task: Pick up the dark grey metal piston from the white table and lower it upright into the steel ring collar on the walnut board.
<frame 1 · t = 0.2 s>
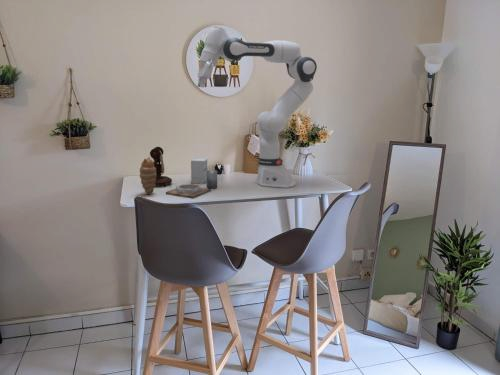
hand: (200, 87, 200), 51 cm above the table, tool tilted 20°, fingers open, 8 cm apart
ring board: (188, 192, 197), on the table
supplement box: (199, 182, 220), on the table
dark brown tall piece: (158, 184, 213), on the table
piston: (211, 187, 208), on the table
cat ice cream: (149, 194, 193), on the table
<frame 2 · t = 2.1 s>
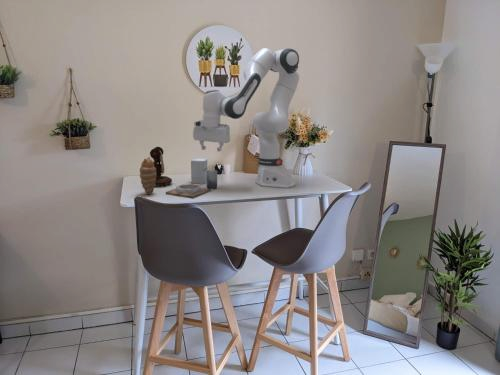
hand: (211, 150, 203), 20 cm above the table, tool pointing down, fingers open, 8 cm apart
nothing on the table moved.
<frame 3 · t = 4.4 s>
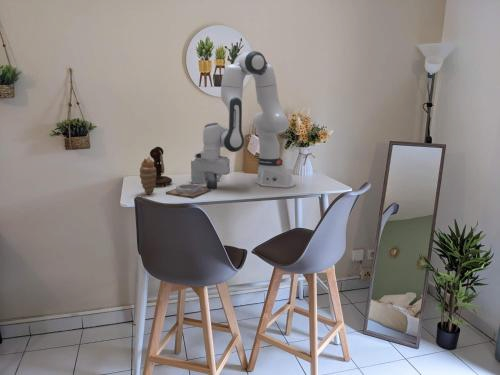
hand: (212, 181, 207), 4 cm above the table, tool pointing down, fingers closed on piston, 5 cm apart
piston: (211, 187, 208), on the table, touching gripper
everything else where it was.
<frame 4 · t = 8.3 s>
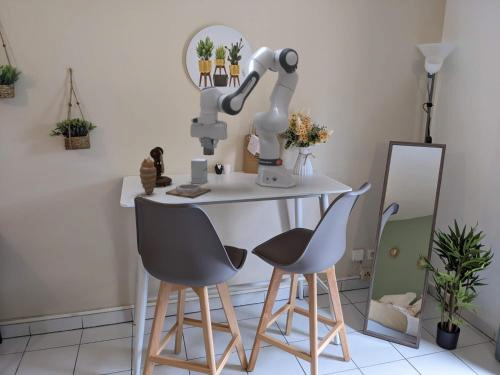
hand: (208, 147, 201), 22 cm above the table, tool pointing down, fingers closed on piston, 5 cm apart
piston: (208, 154, 202), point 18 cm above the table, touching gripper
everything else where it was.
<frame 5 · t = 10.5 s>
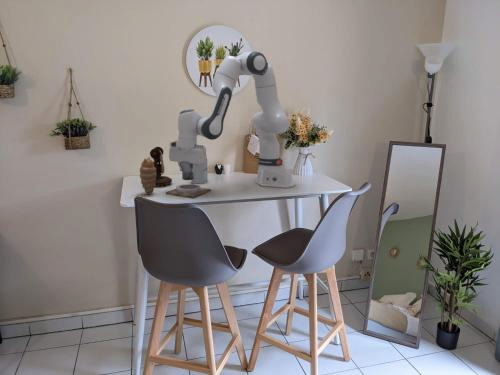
hand: (187, 171, 195), 11 cm above the table, tool pointing down, fingers closed on piston, 5 cm apart
piston: (188, 178, 196), point 7 cm above the table, touching gripper
everything else where it was.
when the fingers open (6 cm above the table, at t = 12.4 s): piston stays where it is, resting on ring board.
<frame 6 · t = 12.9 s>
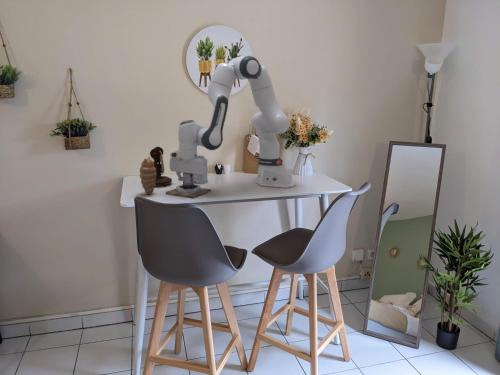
hand: (188, 181, 196), 6 cm above the table, tool pointing down, fingers open, 8 cm apart
piston: (188, 190, 197), point 1 cm above the table, touching ring board
everything else where it was.
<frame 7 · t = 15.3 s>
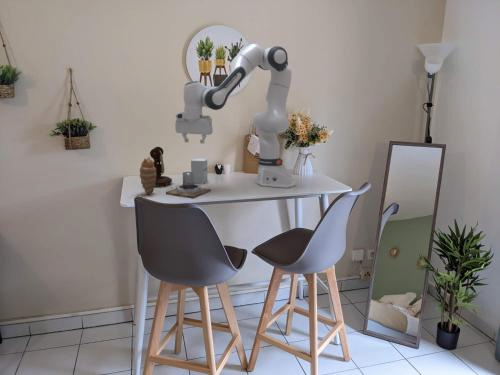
hand: (194, 142, 200), 24 cm above the table, tool pointing down, fingers open, 8 cm apart
nothing on the table moved.
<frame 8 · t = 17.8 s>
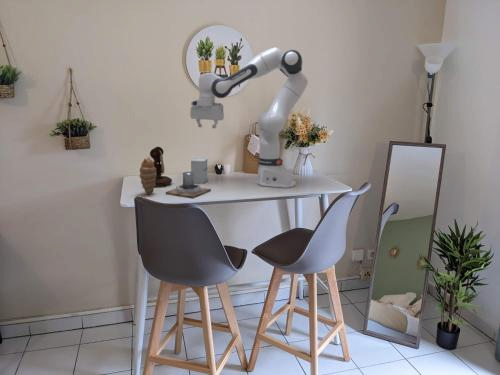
hand: (207, 127, 222), 29 cm above the table, tool pointing down, fingers open, 8 cm apart
nothing on the table moved.
at the end: piston 0.1 cm off-centre on the ring board, point 1.0 cm above the ring board's base; piston tilted 0°; the gripper is holding nothing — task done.
